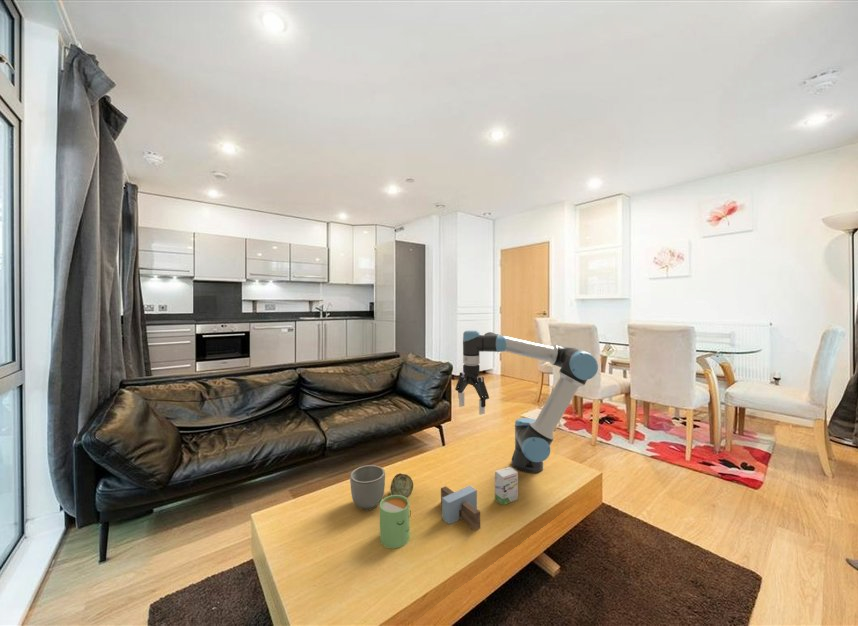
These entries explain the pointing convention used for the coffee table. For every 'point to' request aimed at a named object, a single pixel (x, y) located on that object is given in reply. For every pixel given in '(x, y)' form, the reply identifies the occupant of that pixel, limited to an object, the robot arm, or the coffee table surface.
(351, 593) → the coffee table surface
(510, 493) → the ink box
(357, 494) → the planter
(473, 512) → the walnut rail
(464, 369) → the robot arm
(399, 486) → the seashell
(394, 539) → the mug
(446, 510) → the blue rectangular block
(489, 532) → the coffee table surface
